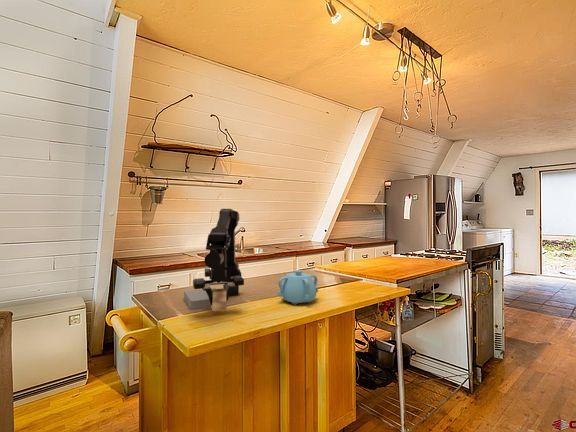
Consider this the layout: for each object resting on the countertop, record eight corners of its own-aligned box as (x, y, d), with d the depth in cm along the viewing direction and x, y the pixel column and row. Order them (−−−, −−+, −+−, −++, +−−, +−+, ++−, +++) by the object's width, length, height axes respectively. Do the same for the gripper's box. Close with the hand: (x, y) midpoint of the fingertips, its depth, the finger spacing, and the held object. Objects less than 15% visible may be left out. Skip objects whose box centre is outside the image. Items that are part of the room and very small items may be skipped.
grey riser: (215, 296, 148) (215, 288, 148) (225, 306, 132) (225, 297, 132) (184, 300, 142) (184, 291, 142) (190, 311, 126) (190, 301, 126)
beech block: (223, 306, 125) (223, 288, 125) (226, 309, 120) (226, 291, 120) (210, 307, 123) (210, 289, 123) (212, 311, 118) (213, 292, 118)
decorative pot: (272, 303, 137) (273, 271, 137) (290, 294, 151) (290, 266, 151) (307, 308, 129) (307, 275, 129) (322, 299, 143) (322, 269, 143)
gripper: (237, 259, 133) (237, 296, 133) (191, 262, 125) (191, 301, 125) (244, 263, 122) (244, 304, 122) (194, 266, 115) (194, 309, 115)
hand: (218, 304), depth 122 cm, fingers closed on beech block, 5 cm apart
